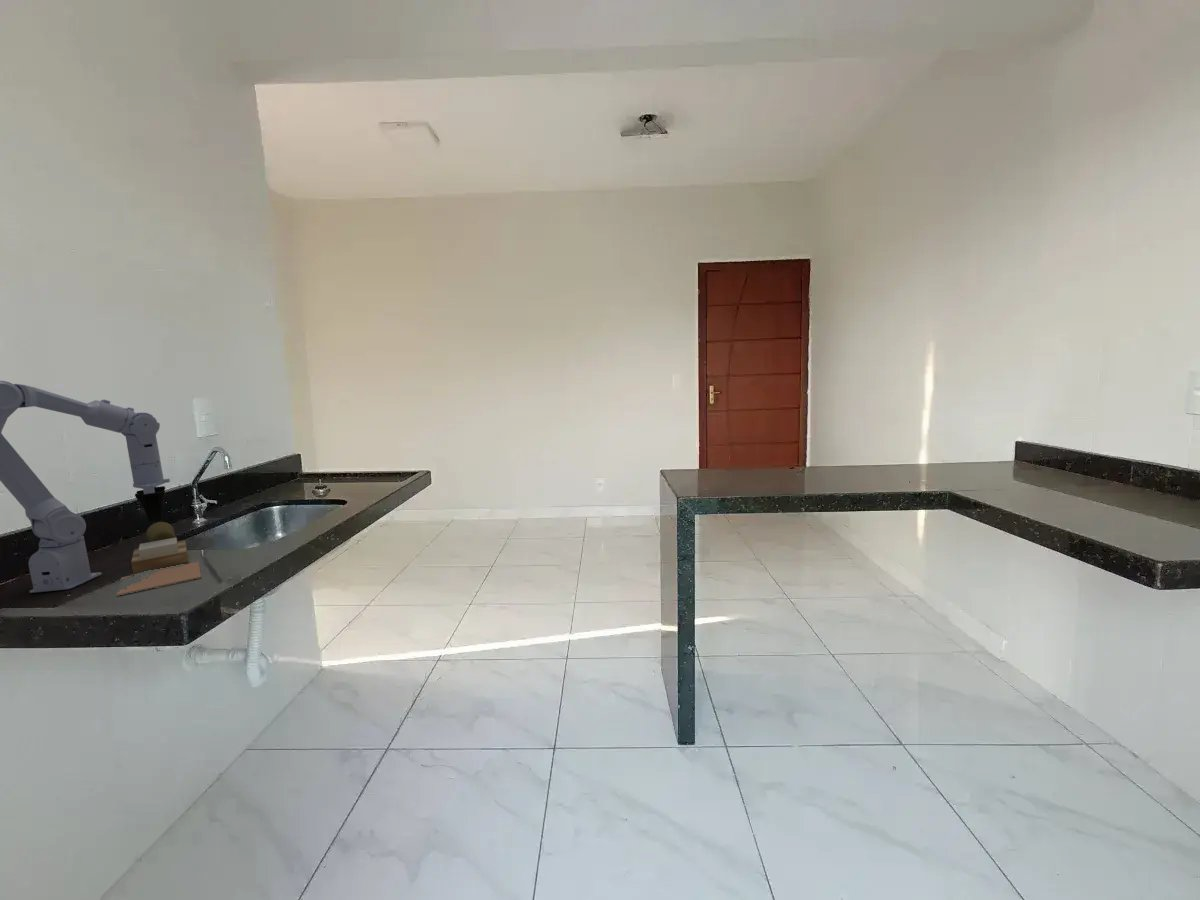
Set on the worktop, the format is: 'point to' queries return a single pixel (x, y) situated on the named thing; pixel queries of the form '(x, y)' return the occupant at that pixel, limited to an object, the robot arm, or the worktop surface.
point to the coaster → (158, 548)
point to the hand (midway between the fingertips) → (155, 519)
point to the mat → (165, 578)
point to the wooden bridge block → (160, 559)
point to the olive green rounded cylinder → (160, 532)
